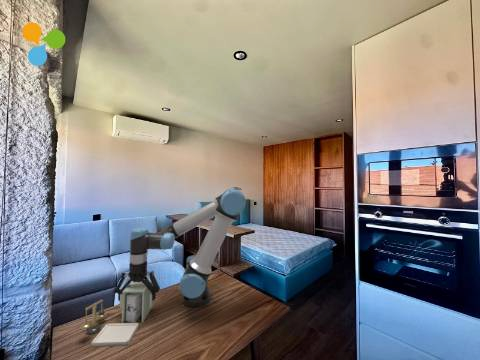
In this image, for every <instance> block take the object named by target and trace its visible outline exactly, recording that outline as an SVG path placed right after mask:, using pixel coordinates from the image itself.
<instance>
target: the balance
mask: <svg viewBox="0 0 480 360" xmlns="http://www.w3.org/2000/svg"><path fill="white" fill-rule="evenodd" d="M103 302H104V299H100V300H98V301H96V302H95V303H92V304H91V305H89V306H87V307H85V310H84V311H85V321H84V322H82V323H81V324H79V330H86V335H88V336H91V335H94V334H95V335H96V334H97V333H98V332H99V331H101V330H102V325H101V324H100V323H97V319H103V318H105V317H106V316H107V315H108V312H107V311H105V308H103ZM99 304H101V305H100V307H101V308H99V309H98V313H97V306H98V305H99ZM91 309H92V313H91V314H92V318H91V320H87V319H88V311H89V310H91ZM99 333H100V332H99Z"/></svg>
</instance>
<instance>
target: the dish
mask: <svg viewBox="0 0 480 360" xmlns="http://www.w3.org/2000/svg"><path fill="white" fill-rule="evenodd" d="M139 327H140V322H135V323H132V322H126V323H125V322H124V323H122V322H121V323H120V322H119V323H106V324H105V325H104V326H103V328H101V329H100V332H99V333H98V334H97V335H96V336H95V338H94V339H93V340H92V341H91V342H90V347H91V348H92V347H112V346H113V347H114V346H128V345H129V344H130V343H131V341H132V339H133V337H134V336H135V333H136V332H137V330H138V328H139Z"/></svg>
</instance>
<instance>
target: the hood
mask: <svg viewBox="0 0 480 360" xmlns="http://www.w3.org/2000/svg"><path fill="white" fill-rule="evenodd" d="M144 280H145V279H144ZM148 280H149V281H150V283H151V284H152V282H151V280H150V278H148ZM152 285H153V284H152ZM138 292H143V295H142V316H141V323H142V324H143V323H144V322H145V320H146V318H147V316H148V315H149V313H150V311H151V310H152V308H151V309H150V294H151V292H150V290H149V289H148V288H147V287H146V285H145V284H143V283H142V282H133V281H131V283H130V284H129V285H128V286H127V287H126V288H125V289H124V290H123V300H122V309H121V323H125V322H126V306H127V295H129V294H130V293H138Z"/></svg>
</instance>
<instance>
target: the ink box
mask: <svg viewBox="0 0 480 360" xmlns="http://www.w3.org/2000/svg"><path fill="white" fill-rule="evenodd" d="M142 295H143V292H138V293H130V294H129V295H127V306H126V320H125V322H127V323H137V321H138V320H139V319H141V318H142Z"/></svg>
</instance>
